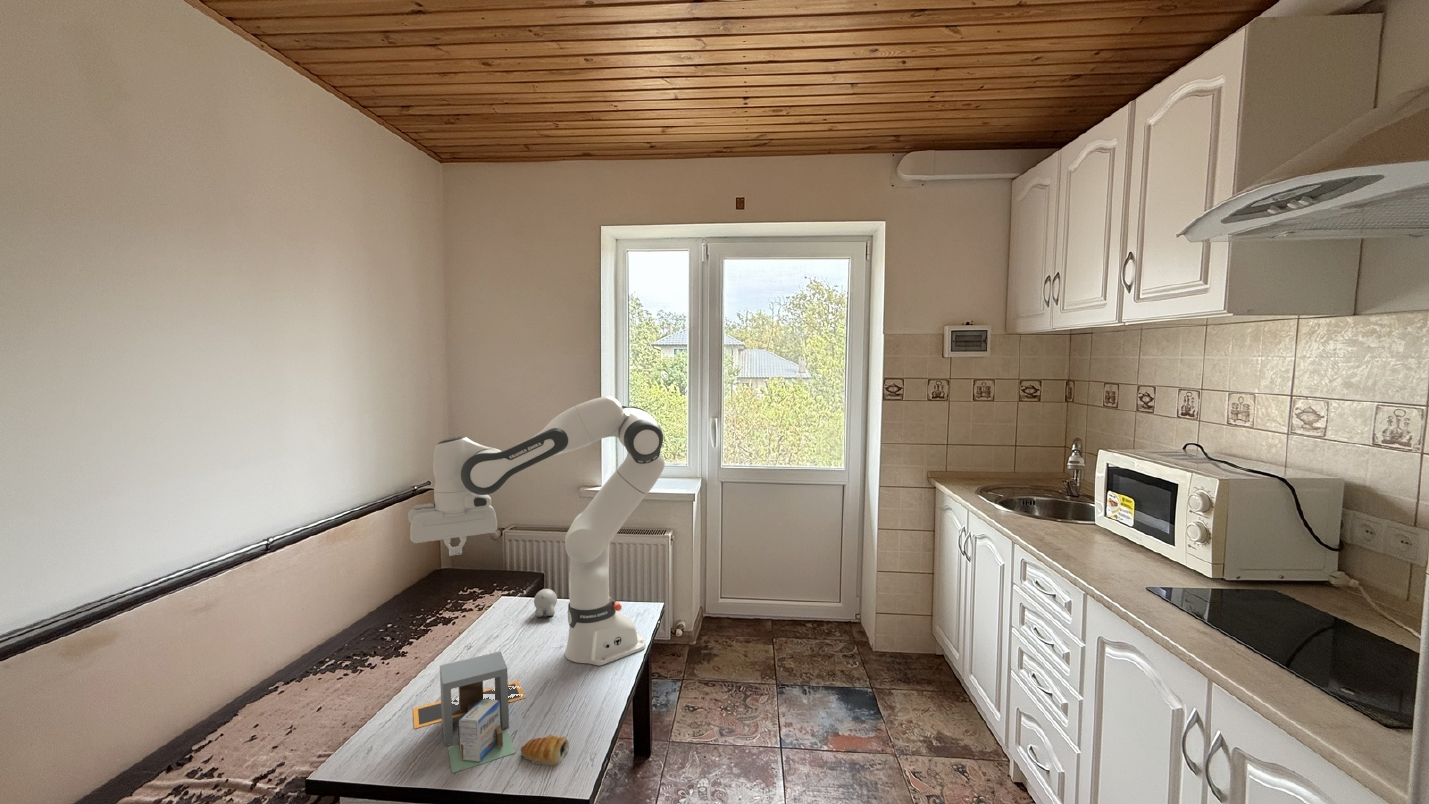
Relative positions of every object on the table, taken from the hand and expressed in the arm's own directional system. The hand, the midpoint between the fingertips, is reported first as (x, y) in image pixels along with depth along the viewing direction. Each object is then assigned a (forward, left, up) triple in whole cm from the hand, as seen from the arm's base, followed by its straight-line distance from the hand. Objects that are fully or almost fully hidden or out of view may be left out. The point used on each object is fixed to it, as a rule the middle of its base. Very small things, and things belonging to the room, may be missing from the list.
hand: (455, 554), depth 147 cm
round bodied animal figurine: (-29, -31, -33) cm, 54 cm away
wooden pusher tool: (-1, +24, -33) cm, 40 cm away
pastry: (-12, +41, -34) cm, 55 cm away
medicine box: (-1, +32, -33) cm, 46 cm away
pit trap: (-1, +12, -33) cm, 35 cm away
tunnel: (-1, +22, -33) cm, 40 cm away
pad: (-1, +32, -33) cm, 46 cm away
